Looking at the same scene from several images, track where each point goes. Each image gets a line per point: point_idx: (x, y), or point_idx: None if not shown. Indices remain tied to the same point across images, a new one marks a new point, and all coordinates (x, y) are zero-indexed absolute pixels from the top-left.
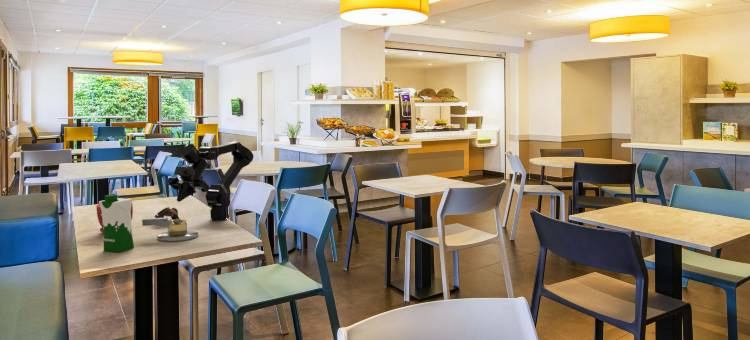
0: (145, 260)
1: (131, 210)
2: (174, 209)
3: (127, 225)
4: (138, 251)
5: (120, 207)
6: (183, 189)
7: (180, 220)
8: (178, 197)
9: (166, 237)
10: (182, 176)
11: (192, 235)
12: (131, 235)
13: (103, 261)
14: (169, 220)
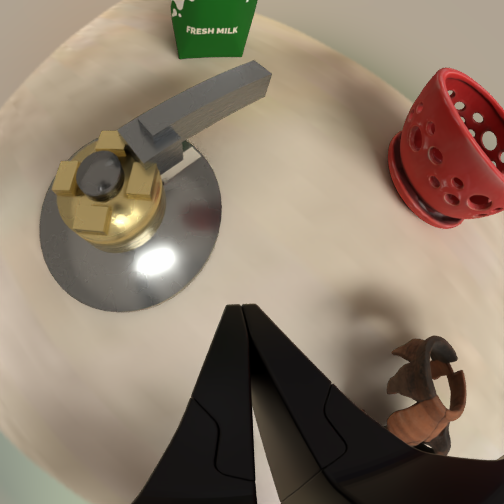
0: (74, 35)
1: (448, 156)
2: (435, 452)
3: None
4: (136, 49)
5: None
6: (231, 476)
7: (76, 178)
8: (251, 330)
9: None
10: None
11: (50, 227)
12: (173, 19)
13: (161, 3)
14: (126, 131)
